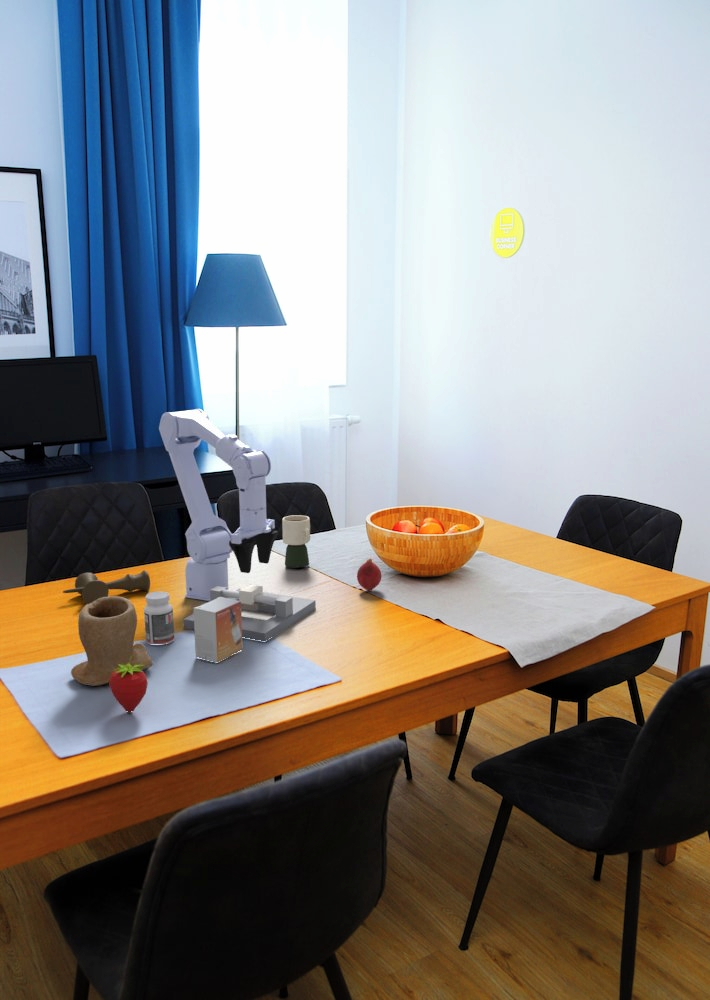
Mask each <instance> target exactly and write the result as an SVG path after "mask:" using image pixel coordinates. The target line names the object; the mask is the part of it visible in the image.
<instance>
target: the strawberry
mask: <svg viewBox="0 0 710 1000" xmlns="http://www.w3.org/2000/svg"><path fill="white" fill-rule="evenodd" d="M131 657H132V656H131ZM130 660H131V658H130ZM130 660H129V662H130ZM118 665H119V667H120V668H118V669H113V671H114V670H115V671H114V672H113V673H112V674H111V676H110V681H109V683H108V685H109V687H110V691H111V694H112V696H113V697H114V699H116V701H117V702H118V704H119V705H120V706H121V707H122V708H123V710H124V711H125V712H126V711H128V712H131V711H133V712H134V711H135V709H136V708H137V706H138V705H139V704H140V703H141V702H142V700H143V699H144V697H145V695H146V694H147V688H148V684H149V683H148V679H147V674H145V672H144V670H140V669H138V668H139V667H142V666H145V665H134V666H133V667H132V666H131V665H130V664H129V663H128V664H127V665H121V664H118ZM128 712H127V713H128Z"/></svg>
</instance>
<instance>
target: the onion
mask: <svg viewBox="0 0 710 1000" xmlns="http://www.w3.org/2000/svg"><path fill="white" fill-rule="evenodd" d="M382 577H383V576H382V571H381V569H380V567H379V566H378V565H377V564H376V563H375V562H373V559H372V558H367V560H366V561H365V562H364V563H362V565H361V566H360V567H359V568H358V570H357V573H356V578H357V579H356V580H357V582H358V584H359V586H360V587H361V588H362V589H364V590H366V591H368V592H371V591H370V590H372V591H373V590H374V589H375V588H376V587H377V586H378V585H379V584H381V581H382Z"/></svg>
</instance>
